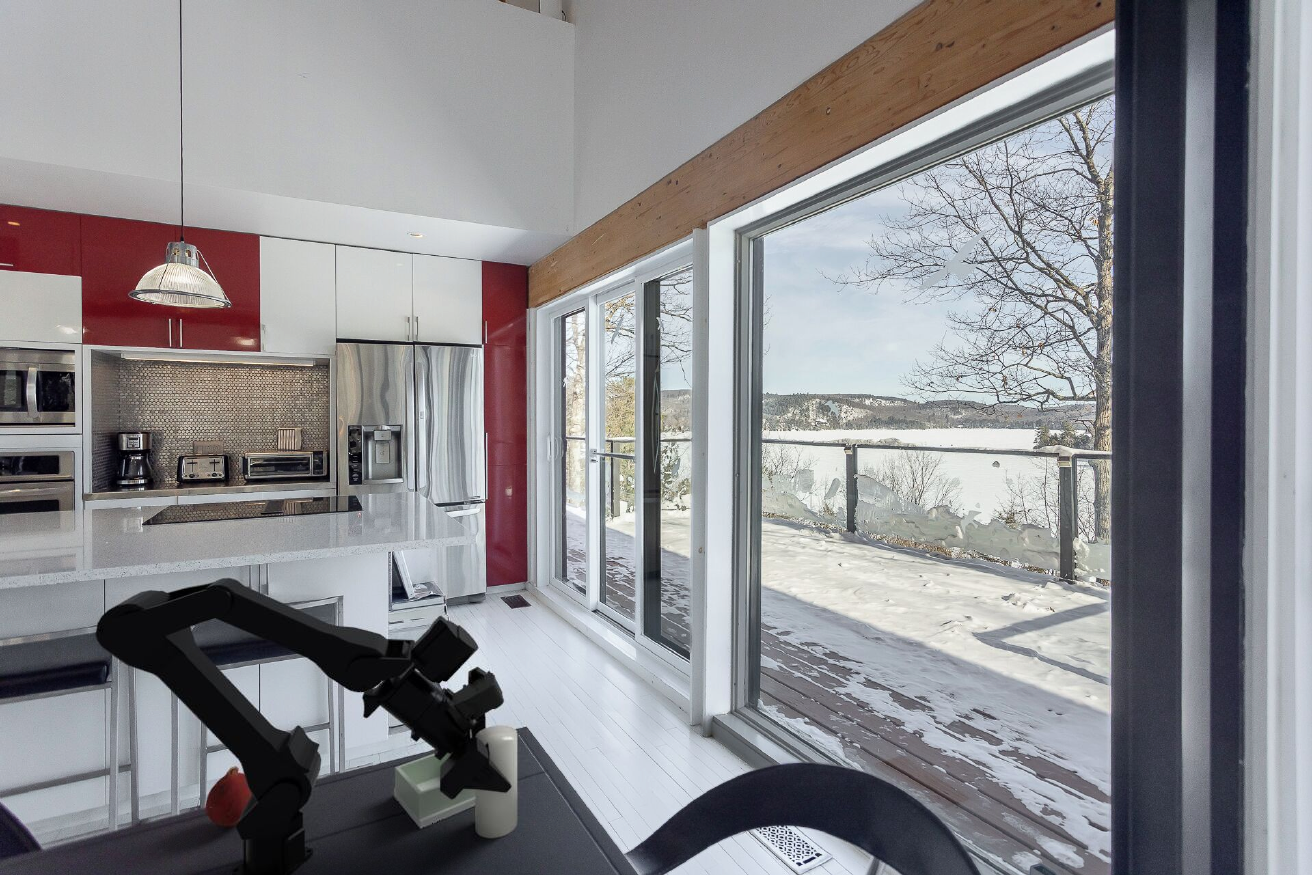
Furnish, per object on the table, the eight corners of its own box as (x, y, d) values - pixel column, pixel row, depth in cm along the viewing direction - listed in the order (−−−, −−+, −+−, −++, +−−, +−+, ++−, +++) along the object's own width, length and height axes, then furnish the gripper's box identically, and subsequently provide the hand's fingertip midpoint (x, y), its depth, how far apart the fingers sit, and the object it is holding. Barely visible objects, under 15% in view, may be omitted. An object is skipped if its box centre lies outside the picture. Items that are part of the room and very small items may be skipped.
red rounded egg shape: (231, 842, 83) (231, 782, 83) (194, 836, 84) (194, 776, 84) (267, 815, 89) (266, 759, 89) (232, 810, 90) (231, 754, 90)
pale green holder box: (420, 828, 86) (420, 792, 86) (393, 795, 94) (393, 762, 94) (506, 792, 95) (506, 759, 95) (475, 764, 103) (476, 734, 102)
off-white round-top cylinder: (466, 832, 86) (466, 741, 85) (490, 808, 91) (489, 722, 91) (503, 841, 84) (503, 748, 84) (524, 816, 89) (524, 728, 89)
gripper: (469, 687, 77) (559, 763, 80) (465, 637, 95) (539, 701, 98) (399, 761, 75) (495, 836, 78) (408, 695, 92) (487, 759, 96)
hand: (507, 775), depth 88 cm, fingers open, 6 cm apart
